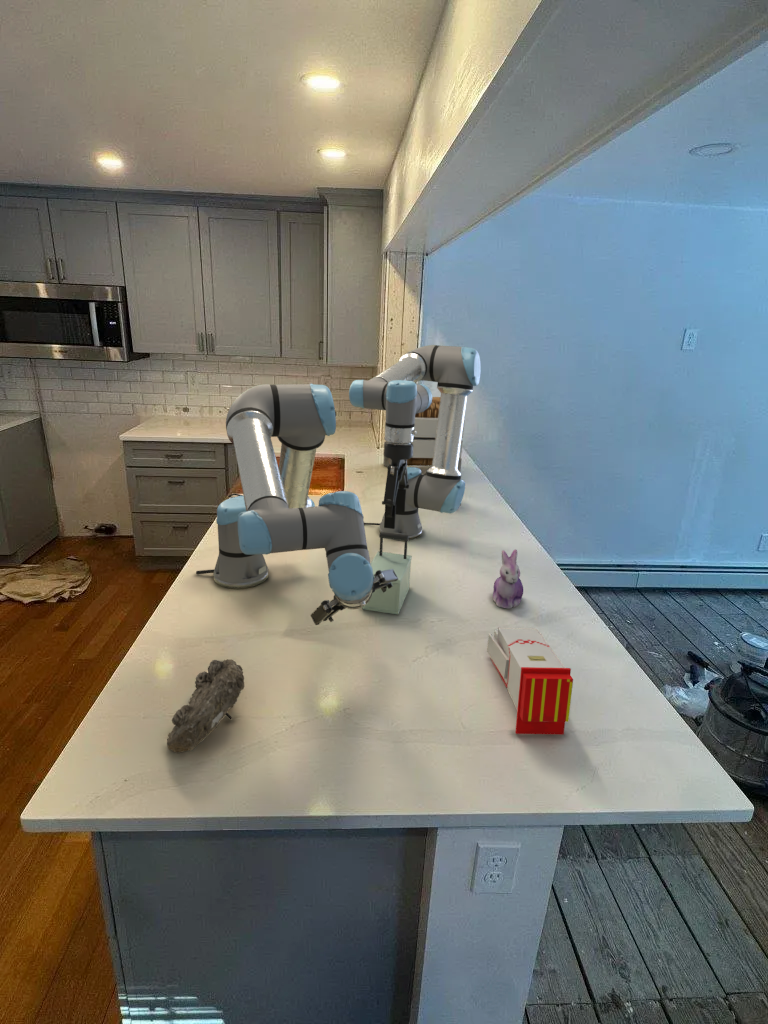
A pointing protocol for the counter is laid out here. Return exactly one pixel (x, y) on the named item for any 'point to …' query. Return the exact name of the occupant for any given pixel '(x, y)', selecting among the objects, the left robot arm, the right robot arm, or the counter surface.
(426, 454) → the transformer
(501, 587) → the figurine
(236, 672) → the fossil
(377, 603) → the chest
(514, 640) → the toy
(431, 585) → the counter surface
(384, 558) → the lid
